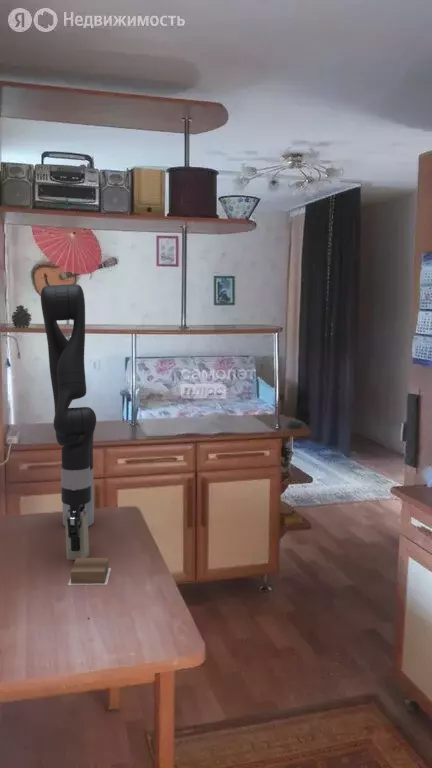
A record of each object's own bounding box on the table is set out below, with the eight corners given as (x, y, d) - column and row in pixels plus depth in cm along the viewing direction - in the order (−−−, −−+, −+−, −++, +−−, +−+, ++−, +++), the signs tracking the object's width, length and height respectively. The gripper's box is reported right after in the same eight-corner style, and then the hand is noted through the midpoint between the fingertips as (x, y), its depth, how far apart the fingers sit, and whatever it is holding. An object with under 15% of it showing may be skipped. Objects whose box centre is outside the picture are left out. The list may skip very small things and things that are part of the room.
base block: (76, 569, 166) (76, 557, 165) (108, 569, 166) (108, 557, 166) (70, 583, 158) (70, 571, 158) (104, 583, 158) (104, 571, 158)
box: (89, 557, 176) (89, 511, 174) (84, 564, 171) (84, 516, 170) (70, 556, 176) (69, 510, 174) (65, 563, 172) (64, 515, 170)
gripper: (66, 475, 178) (67, 536, 180) (56, 492, 163) (57, 557, 166) (94, 475, 178) (95, 536, 181) (86, 492, 164) (87, 557, 166)
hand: (77, 546), depth 173 cm, fingers closed on box, 4 cm apart
